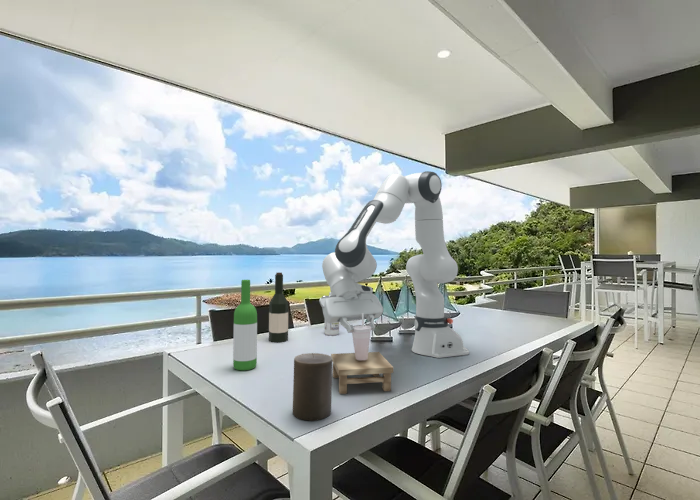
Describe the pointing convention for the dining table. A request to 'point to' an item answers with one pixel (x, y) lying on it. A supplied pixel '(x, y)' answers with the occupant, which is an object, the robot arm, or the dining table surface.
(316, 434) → the dining table surface
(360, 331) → the smoothie
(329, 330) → the bath foam
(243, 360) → the wine bottle
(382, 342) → the dining table surface
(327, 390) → the pillar candle
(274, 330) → the wine bottle
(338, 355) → the footstool
